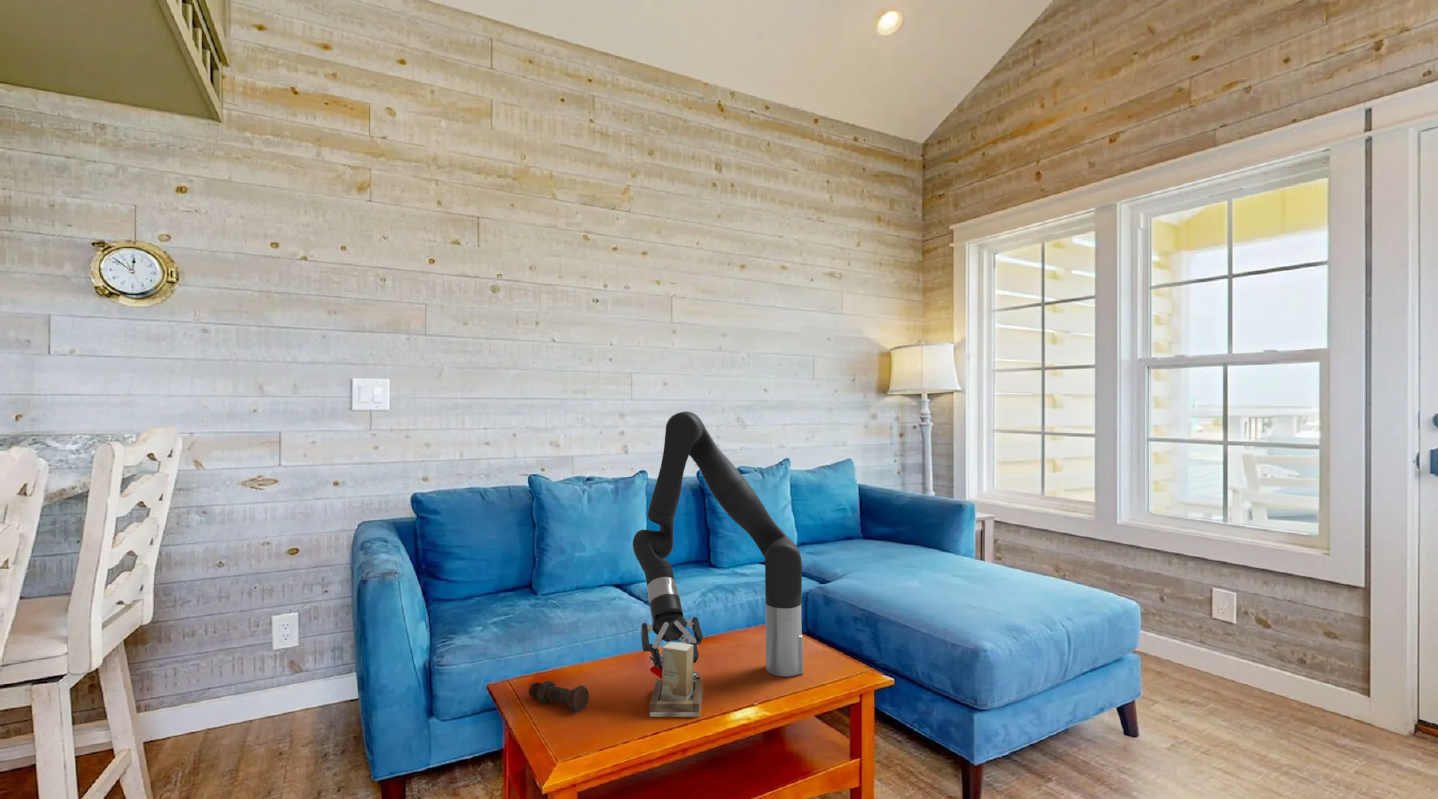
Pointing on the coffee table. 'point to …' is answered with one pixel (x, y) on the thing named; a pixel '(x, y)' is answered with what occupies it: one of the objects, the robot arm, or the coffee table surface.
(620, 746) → the coffee table surface
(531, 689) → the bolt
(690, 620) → the robot arm
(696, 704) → the tray
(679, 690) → the skincare box
